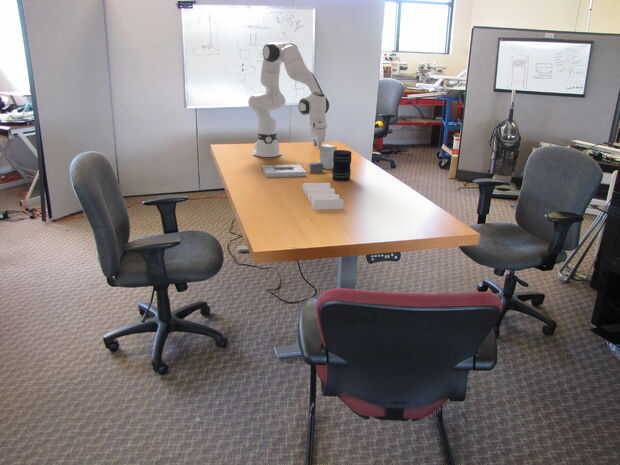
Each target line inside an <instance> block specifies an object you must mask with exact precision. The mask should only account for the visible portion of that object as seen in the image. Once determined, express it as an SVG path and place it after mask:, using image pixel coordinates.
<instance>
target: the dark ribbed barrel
mask: <svg viewBox="0 0 620 465" xmlns="http://www.w3.org/2000/svg"><path fill="white" fill-rule="evenodd" d="M333 162H334V164H333V169H332V177H331V178H332V180H333V181H335V182H349V181H351V175H352V174H351V163H352V151H350V150H346V149H337V150H336V151H334V154H333Z"/></svg>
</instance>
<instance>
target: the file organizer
mask: <svg viewBox="0 0 620 465" xmlns="http://www.w3.org/2000/svg"><path fill="white" fill-rule="evenodd" d="M301 189H302V191H303V192H304V195H305V196H306V198H307V197H308V198H307V199H308V201H309V202H311V203H310V204H311V206H312V209H313V210H314V211H317V210H321V209H322V210H343V209H344V205H345V204H344V203H345V200H344V198H340V194H339V193H338V194H336V191H335V188H334V187H331V183H330V182H308V183H307V182H305V183H302V188H301Z"/></svg>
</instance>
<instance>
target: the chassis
mask: <svg viewBox="0 0 620 465" xmlns="http://www.w3.org/2000/svg"><path fill="white" fill-rule="evenodd" d="M261 169H262V172H263V174H264V176H265V177H266V178H284V177H285V178H288V177H290V178H291V177H306V176H307V171H306V170H305V169H304V167H303V166H302V165H301V164H267V165H265V164H264V165H262V168H261Z"/></svg>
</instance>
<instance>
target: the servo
mask: <svg viewBox="0 0 620 465" xmlns="http://www.w3.org/2000/svg"><path fill="white" fill-rule="evenodd" d="M307 167H309V172H310V173H311V174H312V173H323V172H324V168H323V167H325V165H324V164H323V163H322V162H321V161H320V160H319V161H317V162H314V161H313V162H309V164H308V163H307Z"/></svg>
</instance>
